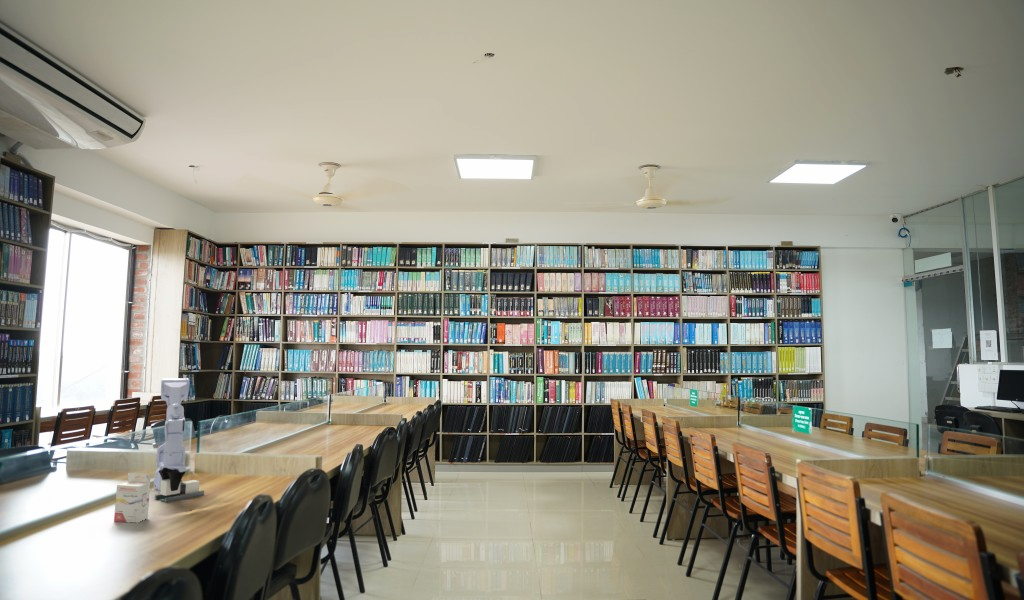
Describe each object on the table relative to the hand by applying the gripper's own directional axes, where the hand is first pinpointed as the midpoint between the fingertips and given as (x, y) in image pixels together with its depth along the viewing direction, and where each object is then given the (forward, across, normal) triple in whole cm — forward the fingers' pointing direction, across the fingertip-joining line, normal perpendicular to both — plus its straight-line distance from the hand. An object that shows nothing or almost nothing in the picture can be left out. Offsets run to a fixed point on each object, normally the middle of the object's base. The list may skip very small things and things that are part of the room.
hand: (170, 489), depth 213 cm
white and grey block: (+3, 0, +7) cm, 8 cm away
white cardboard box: (+1, 0, 0) cm, 1 cm away
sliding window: (+4, 0, +4) cm, 6 cm away
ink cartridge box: (+5, +13, -20) cm, 24 cm away
